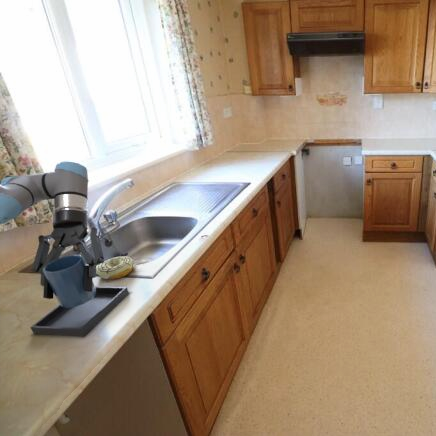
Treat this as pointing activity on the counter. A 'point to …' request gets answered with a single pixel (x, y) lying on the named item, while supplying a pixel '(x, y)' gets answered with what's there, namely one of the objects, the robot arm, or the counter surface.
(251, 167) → the counter surface
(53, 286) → the tea cup
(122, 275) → the decorated donut
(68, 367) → the counter surface
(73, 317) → the serving tray
